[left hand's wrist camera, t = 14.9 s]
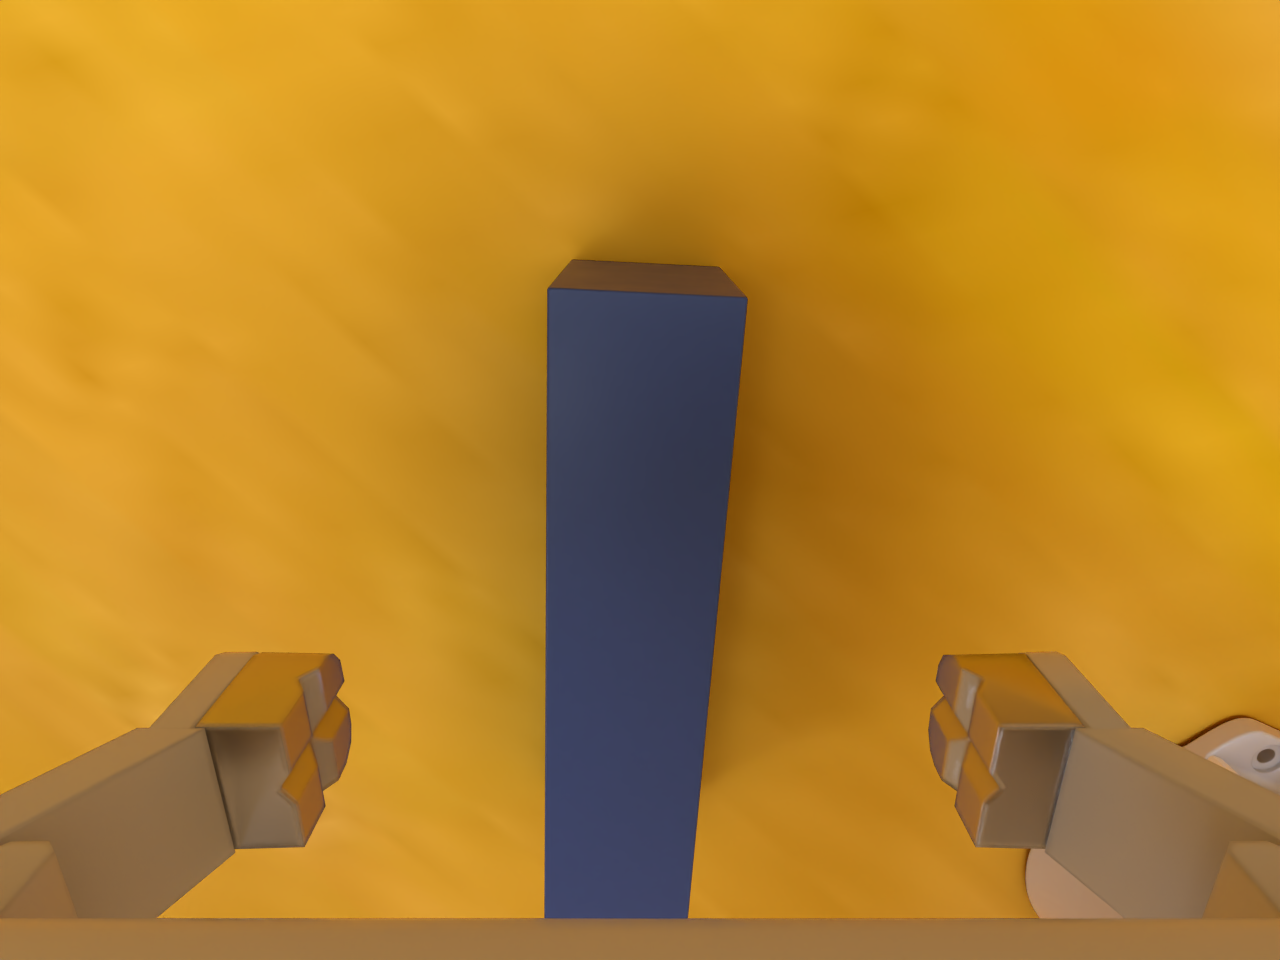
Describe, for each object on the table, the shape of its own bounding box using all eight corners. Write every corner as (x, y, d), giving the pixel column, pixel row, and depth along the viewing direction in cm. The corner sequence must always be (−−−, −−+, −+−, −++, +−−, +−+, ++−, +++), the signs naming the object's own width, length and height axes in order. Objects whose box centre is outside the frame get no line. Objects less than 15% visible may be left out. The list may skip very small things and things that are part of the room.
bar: (571, 259, 31) (547, 287, 23) (720, 266, 31) (748, 297, 23) (563, 794, 41) (544, 945, 33) (676, 798, 41) (684, 950, 33)
